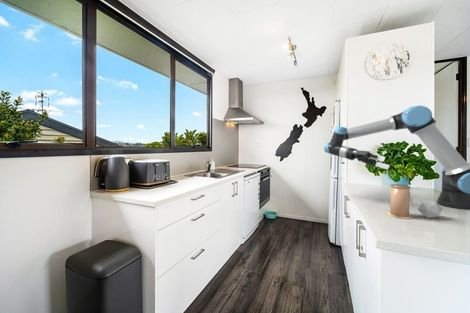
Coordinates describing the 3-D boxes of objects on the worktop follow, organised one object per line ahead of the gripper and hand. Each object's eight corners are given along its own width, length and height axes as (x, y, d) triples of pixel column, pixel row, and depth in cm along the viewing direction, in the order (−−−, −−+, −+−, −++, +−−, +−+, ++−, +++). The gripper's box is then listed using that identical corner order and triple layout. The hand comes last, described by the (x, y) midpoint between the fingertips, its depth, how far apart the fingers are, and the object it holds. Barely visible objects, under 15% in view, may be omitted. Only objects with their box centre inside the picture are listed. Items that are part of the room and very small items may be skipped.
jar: (408, 213, 101) (409, 185, 101) (410, 218, 95) (411, 187, 94) (389, 211, 106) (389, 183, 105) (390, 215, 99) (391, 186, 99)
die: (445, 222, 91) (449, 204, 94) (426, 213, 93) (431, 195, 95) (428, 222, 99) (432, 205, 102) (411, 213, 100) (416, 197, 103)
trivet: (412, 214, 102) (412, 213, 102) (416, 220, 93) (416, 219, 93) (385, 210, 108) (385, 209, 108) (386, 216, 99) (386, 215, 99)
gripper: (351, 164, 134) (387, 175, 118) (339, 151, 118) (379, 162, 102) (356, 155, 134) (393, 165, 118) (345, 140, 118) (385, 149, 102)
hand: (386, 163), depth 110 cm, fingers open, 13 cm apart
